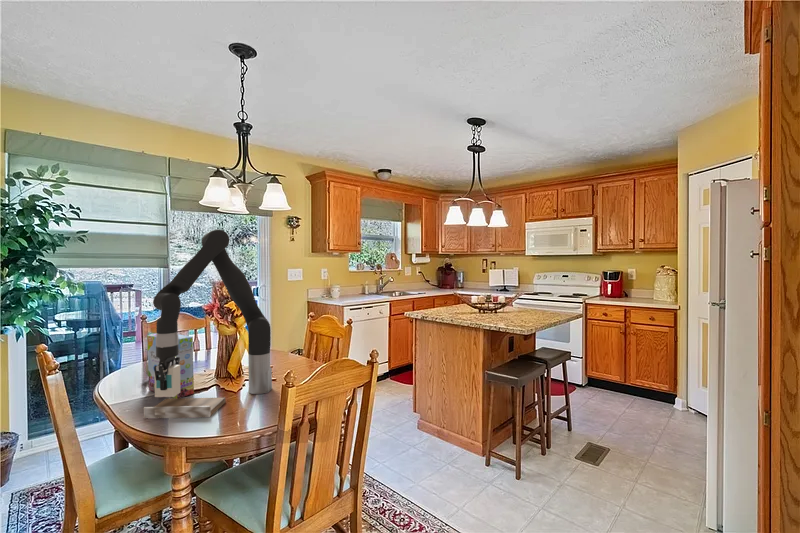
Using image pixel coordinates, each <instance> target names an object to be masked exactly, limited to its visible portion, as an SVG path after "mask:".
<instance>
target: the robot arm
mask: <svg viewBox="0 0 800 533" xmlns="http://www.w3.org/2000/svg"><path fill="white" fill-rule="evenodd" d="M229 244H230V236H229V234H228V233H227V232H226V231H225V230H223V229H218V228H217V229H213V230H210V231H208V232H207V233H205V234H204V235H203V236H202V238H201V247H200V248H199V250H198V251H197V253H196V254H195V255H193V257H191V259H190V260H189V261H188V262H187V263H185V265H184V266H183V267H181V269H180V270H179V271H178V272H177V273H176V275H175V276H174V277H173V279H171V281H170V282H168V283H167V284H166V285H165V286H164V287H162V288H161V289H160V290H159V291H158V292H157V293H156V294H155V295H154V297H153V301H152V305H153V307H154V308H155V309H157V310H159V311H161V312H160V313H161V314H160V317H159V318H157V320H156V333H157V334H156V333H155V334H156V357H157V358H159V359H160V361H159V365H158V366H154V371H155V377H156V380H159V381H160V390H166V389H167V374H168V373H169V368H170V367H171V366H174V365H179V361H180V357H175V356H177V355H178V354H179V346H178V334H179V333H178V332H179V331H178V329H179V328H178V326H179V325H178V319H179V317H180V311H181V308H182V301H181V298H180V295H182V294H183V293H187V292H188V291H189V290H190V289H191V287H192V286H193V285H194V283H195V282H196V281H197V280H198V279H199V277H200V276H201V275H202V273H203V272H204V271H205V270H206V268H207V267H208V266H209V265H210V263H211V262H212V263H213V265H214V266H215V269H216V271H217V273H218V275H219V276H220V279H221V280H222V283H223V285H224V287H225V289H226V291H227V292H228V294H229V296H230V298H231V300H232V301H233V303H234V304H235V305H236V306H237V308H238V309H239V311H240V312H241V314H242V316H243V318H244V321H245V323H246V326H247V330H248V334H247V336H248V337H247V338H248V345H247V346H248V347H247V351H248V352H247V353H248V359H247V360H248V364H247V365H248V393H249V394H251V395H262V394H269V392H271V390H272V389H273V377H272V376H273V372H272V371H273V370H272V369H273V368H272V367H271V341H272V340H271V339H272V337H271V331H272V330H271V329H272V328H271V324H270V322H269V321H268V319H267V318H266V317H265V315H264V314H263V312H262V311H261V309H260V307H259V305H258V304H257V301H256V298H255V296H254V293H253V290H252V288H251V284H250V283H249V280H248V279H247V277H246V275H245V274H244V273H243V271H242V270H241V269H240V267H239V266H237V265H236V264H235V263H234V262H233V260H232V259H231V257H230V255H229V253H228V251H227V249H226V248H227V247H228V246H229ZM166 369H167V371H166V372H163V370H166ZM164 374H165V376H164Z"/></svg>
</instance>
